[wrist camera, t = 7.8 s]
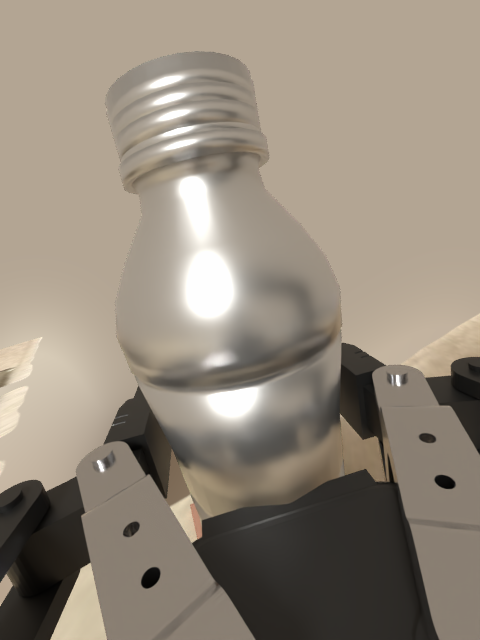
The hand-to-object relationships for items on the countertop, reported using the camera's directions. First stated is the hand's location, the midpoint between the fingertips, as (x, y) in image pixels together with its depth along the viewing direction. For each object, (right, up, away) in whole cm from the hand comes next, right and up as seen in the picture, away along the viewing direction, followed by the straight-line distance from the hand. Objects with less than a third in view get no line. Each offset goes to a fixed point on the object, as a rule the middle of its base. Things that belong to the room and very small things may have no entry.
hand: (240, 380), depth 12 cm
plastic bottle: (+3, -11, +1) cm, 11 cm away
